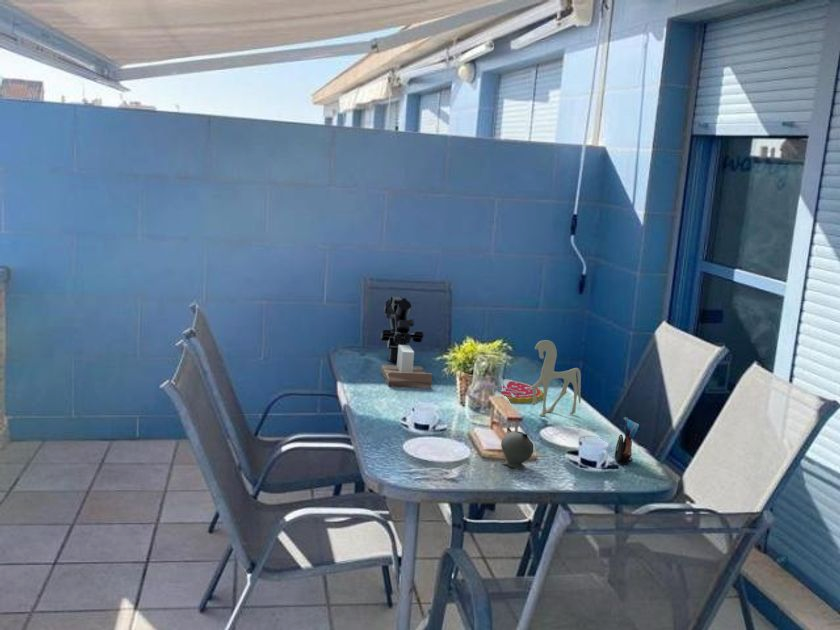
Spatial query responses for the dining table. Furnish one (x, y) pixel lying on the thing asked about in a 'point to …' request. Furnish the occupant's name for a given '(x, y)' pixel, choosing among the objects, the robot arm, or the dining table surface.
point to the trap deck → (406, 377)
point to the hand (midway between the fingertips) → (402, 351)
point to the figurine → (626, 443)
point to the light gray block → (405, 358)
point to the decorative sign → (519, 392)
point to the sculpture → (554, 376)
